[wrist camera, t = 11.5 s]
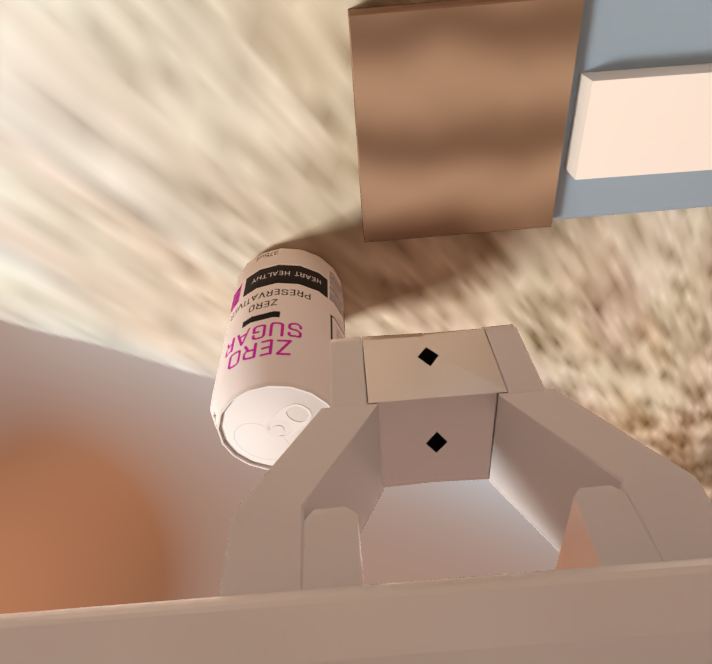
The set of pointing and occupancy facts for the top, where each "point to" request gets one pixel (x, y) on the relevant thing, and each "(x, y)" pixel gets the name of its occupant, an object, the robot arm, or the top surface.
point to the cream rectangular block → (642, 122)
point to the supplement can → (276, 354)
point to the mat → (634, 51)
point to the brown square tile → (461, 113)
